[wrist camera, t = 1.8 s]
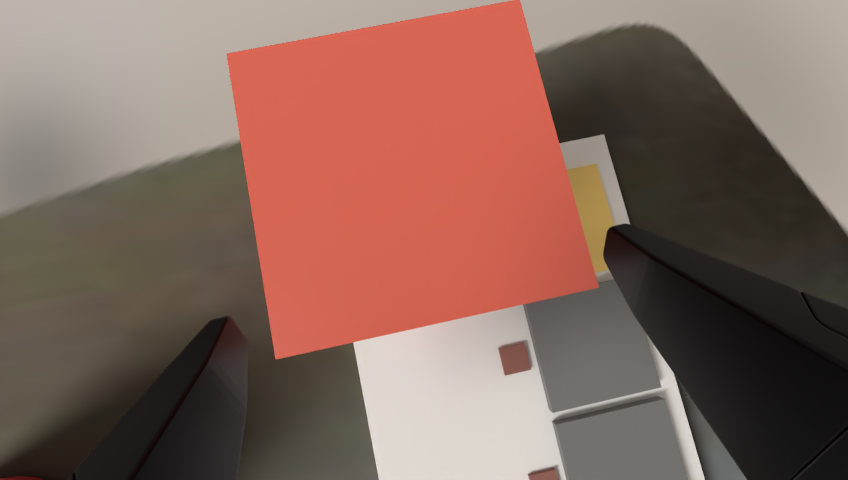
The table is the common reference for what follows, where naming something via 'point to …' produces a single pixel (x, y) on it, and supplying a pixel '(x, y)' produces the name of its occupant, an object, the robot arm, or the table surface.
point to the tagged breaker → (592, 210)
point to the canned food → (21, 478)
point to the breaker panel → (530, 387)
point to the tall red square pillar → (404, 177)
